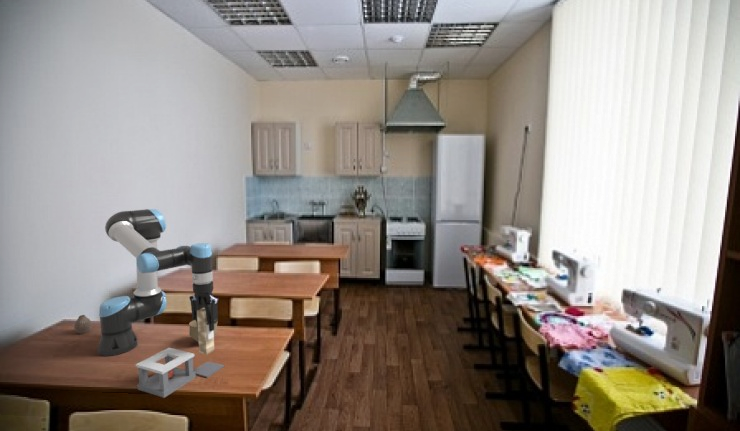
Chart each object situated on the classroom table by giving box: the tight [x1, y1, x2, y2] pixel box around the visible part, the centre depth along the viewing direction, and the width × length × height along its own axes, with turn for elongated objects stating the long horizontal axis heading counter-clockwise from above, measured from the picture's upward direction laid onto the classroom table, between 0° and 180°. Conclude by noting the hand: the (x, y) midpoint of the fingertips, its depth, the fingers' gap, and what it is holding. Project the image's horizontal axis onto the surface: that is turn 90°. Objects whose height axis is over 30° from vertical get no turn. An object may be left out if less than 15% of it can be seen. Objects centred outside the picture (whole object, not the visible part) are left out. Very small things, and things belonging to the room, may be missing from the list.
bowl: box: [188, 319, 219, 344], centre depth 172 cm, size 13×13×10 cm
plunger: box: [168, 369, 174, 380], centre depth 137 cm, size 4×4×5 cm
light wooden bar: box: [197, 308, 215, 356], centre depth 145 cm, size 4×4×18 cm
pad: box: [193, 361, 225, 379], centre depth 146 cm, size 9×9×1 cm
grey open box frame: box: [135, 347, 197, 399], centre depth 136 cm, size 14×14×10 cm
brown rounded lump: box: [73, 314, 92, 335], centre depth 182 cm, size 7×7×9 cm
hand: (206, 337), depth 145 cm, fingers closed on light wooden bar, 4 cm apart
